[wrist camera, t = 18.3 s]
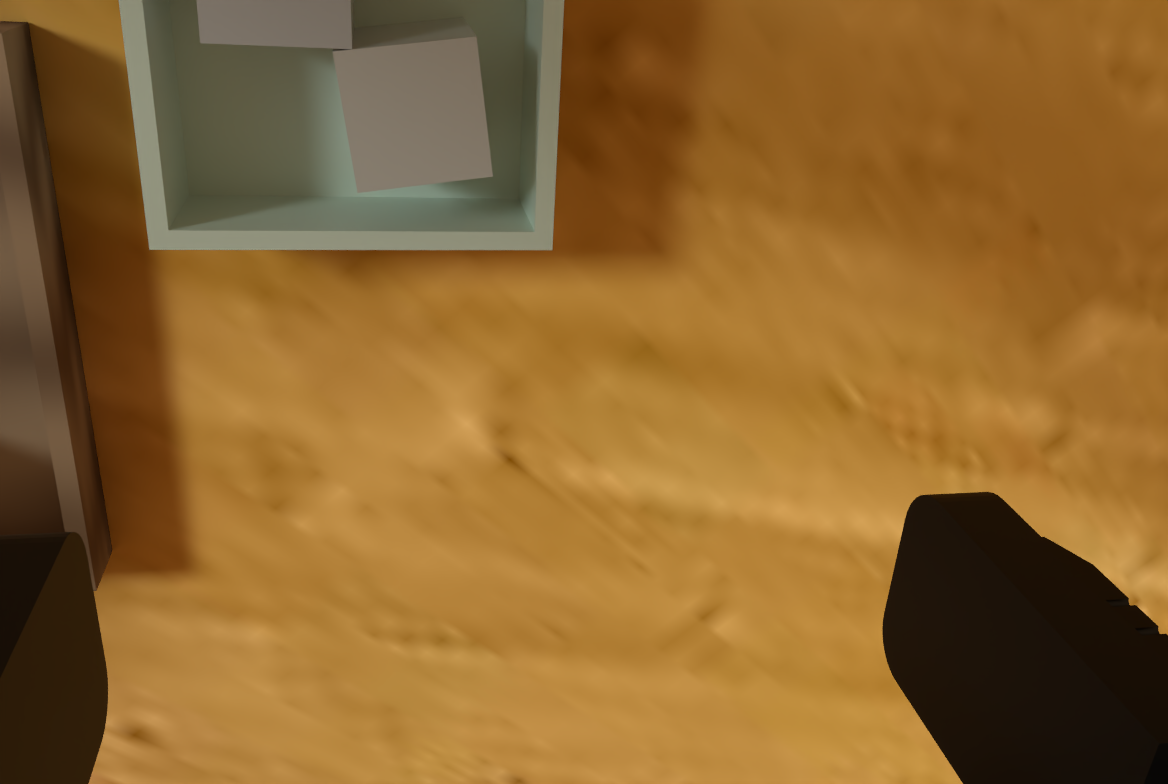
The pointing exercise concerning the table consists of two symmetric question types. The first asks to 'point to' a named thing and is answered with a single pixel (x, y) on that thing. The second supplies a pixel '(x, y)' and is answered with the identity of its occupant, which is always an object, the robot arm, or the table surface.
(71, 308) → the tray
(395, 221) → the dump tub
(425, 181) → the grey rectangular block
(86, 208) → the table surface
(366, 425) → the table surface
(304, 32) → the stone
